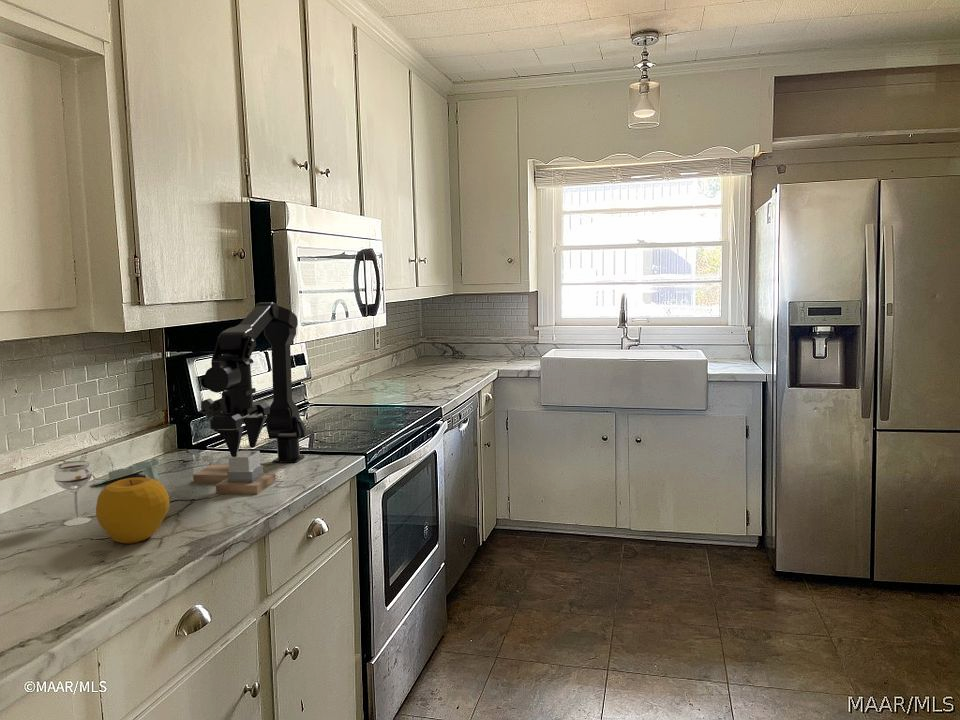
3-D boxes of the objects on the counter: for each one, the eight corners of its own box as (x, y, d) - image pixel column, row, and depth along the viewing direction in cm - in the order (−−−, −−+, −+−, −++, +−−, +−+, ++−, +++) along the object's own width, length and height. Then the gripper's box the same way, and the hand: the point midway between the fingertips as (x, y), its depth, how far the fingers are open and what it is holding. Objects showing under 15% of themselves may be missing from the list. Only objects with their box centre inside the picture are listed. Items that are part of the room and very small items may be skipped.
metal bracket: (173, 451, 189) (125, 467, 176) (179, 473, 189) (133, 490, 176) (132, 463, 195) (84, 479, 181) (139, 485, 195) (91, 502, 181)
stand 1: (214, 471, 190) (213, 463, 190) (251, 471, 189) (250, 464, 188) (193, 482, 180) (193, 474, 180) (232, 483, 179) (232, 475, 179)
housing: (239, 475, 178) (238, 450, 178) (263, 475, 177) (261, 450, 177) (227, 482, 172) (226, 457, 172) (252, 482, 172) (250, 457, 171)
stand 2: (236, 481, 181) (236, 472, 181) (275, 481, 179) (275, 473, 179) (216, 493, 171) (215, 485, 171) (257, 494, 169) (256, 485, 169)
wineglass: (68, 516, 158) (63, 461, 156) (101, 515, 158) (96, 459, 156) (52, 527, 151) (46, 470, 149) (86, 526, 151) (81, 468, 150)
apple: (144, 522, 152) (139, 468, 151) (186, 532, 146) (182, 475, 144) (84, 543, 141) (78, 485, 140) (126, 555, 135) (121, 493, 133)
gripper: (225, 379, 182) (230, 442, 184) (184, 392, 164) (190, 461, 166) (268, 379, 181) (273, 442, 183) (232, 392, 162) (237, 462, 164)
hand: (243, 451), depth 174 cm, fingers open, 9 cm apart
